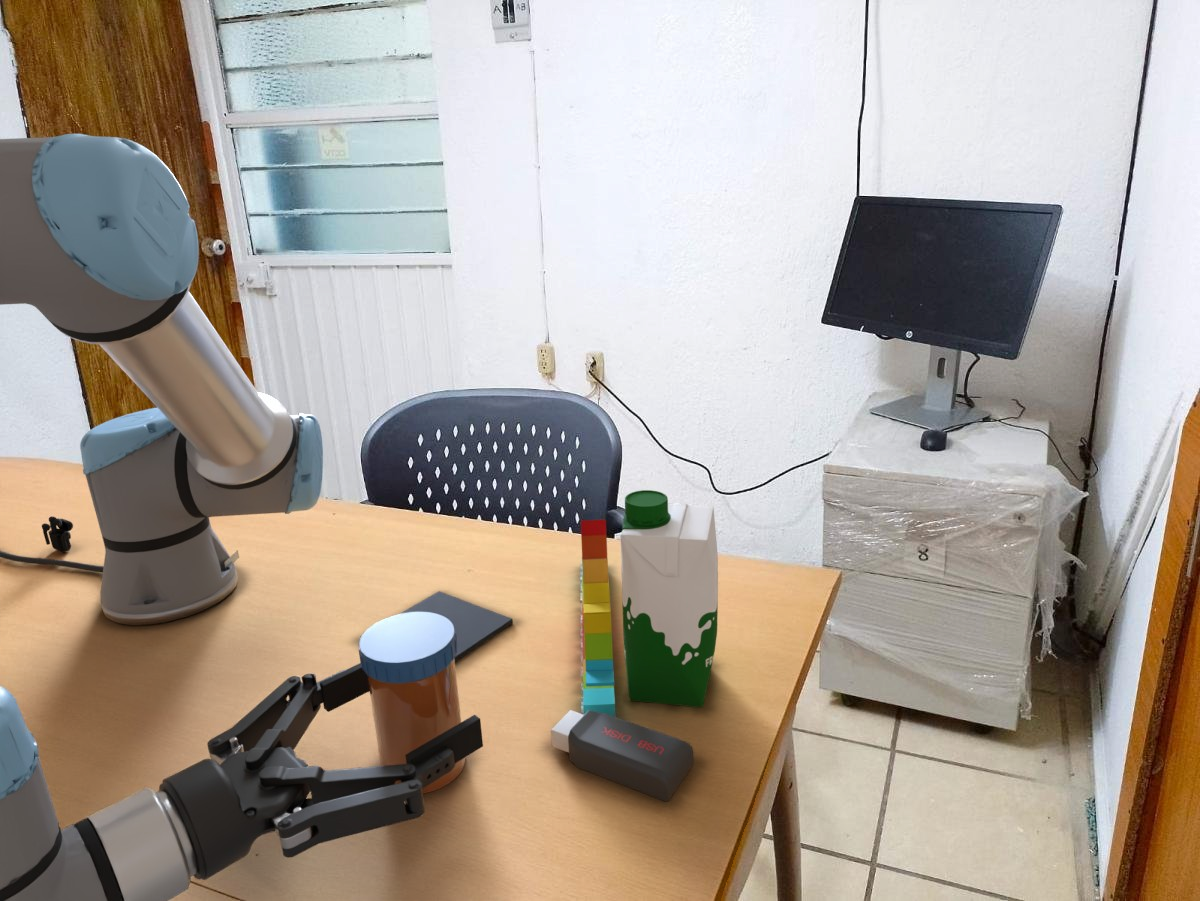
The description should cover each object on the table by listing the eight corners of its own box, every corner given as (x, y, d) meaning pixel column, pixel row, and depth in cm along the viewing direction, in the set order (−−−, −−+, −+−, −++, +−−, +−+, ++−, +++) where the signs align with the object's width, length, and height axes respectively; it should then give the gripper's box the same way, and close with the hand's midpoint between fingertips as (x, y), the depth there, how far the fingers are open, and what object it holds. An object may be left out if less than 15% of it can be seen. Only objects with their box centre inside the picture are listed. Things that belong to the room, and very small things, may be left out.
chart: (580, 570, 106) (575, 460, 101) (605, 569, 106) (601, 459, 101) (581, 722, 78) (574, 580, 73) (615, 721, 78) (611, 579, 73)
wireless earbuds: (44, 547, 118) (35, 515, 117) (62, 540, 120) (53, 508, 119) (70, 557, 115) (61, 524, 113) (88, 550, 117) (79, 518, 115)
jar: (364, 772, 72) (344, 648, 68) (426, 727, 78) (411, 610, 73) (421, 806, 68) (404, 676, 64) (482, 756, 74) (469, 633, 69)
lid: (341, 663, 68) (338, 643, 68) (414, 620, 74) (411, 602, 74) (404, 695, 64) (402, 674, 63) (476, 648, 70) (474, 628, 69)
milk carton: (633, 654, 88) (628, 479, 81) (719, 662, 86) (722, 483, 79) (618, 706, 80) (612, 516, 73) (713, 715, 78) (715, 521, 71)
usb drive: (667, 802, 68) (667, 775, 67) (546, 755, 73) (544, 729, 73) (694, 763, 72) (694, 737, 71) (577, 721, 78) (575, 697, 77)
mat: (360, 640, 92) (360, 636, 92) (439, 595, 101) (439, 590, 101) (436, 675, 86) (435, 670, 85) (513, 623, 95) (512, 618, 94)
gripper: (129, 789, 67) (363, 675, 81) (261, 989, 51) (526, 802, 65) (108, 712, 65) (352, 608, 79) (238, 896, 48) (520, 722, 62)
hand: (431, 695), depth 72 cm, fingers open, 13 cm apart
